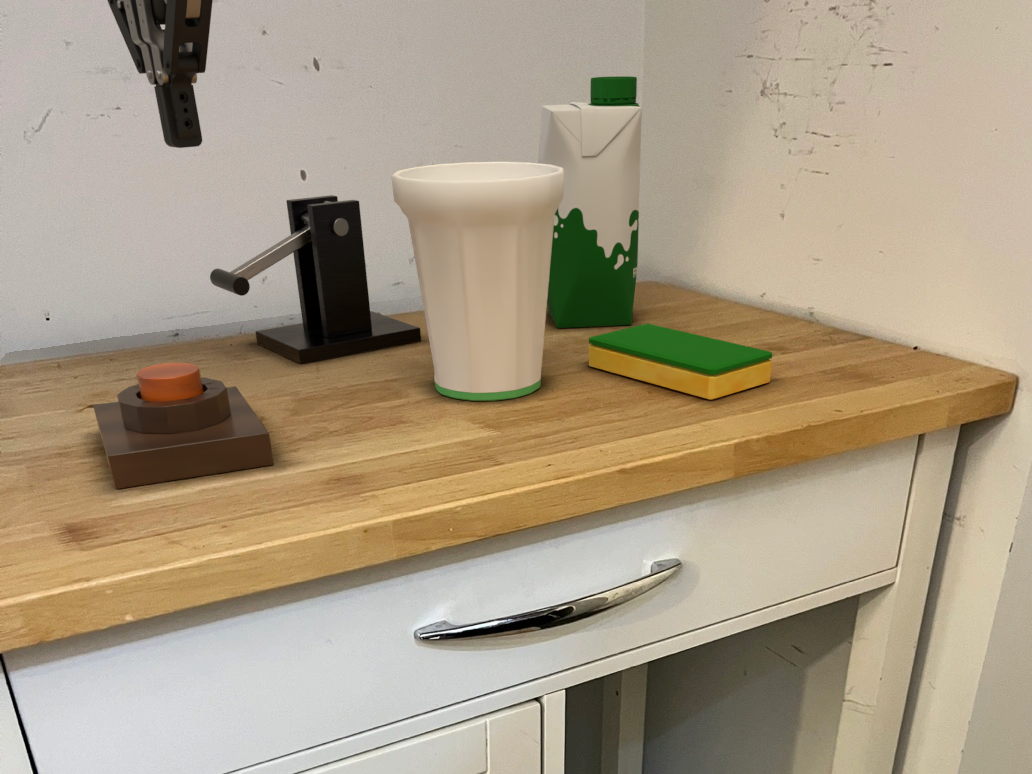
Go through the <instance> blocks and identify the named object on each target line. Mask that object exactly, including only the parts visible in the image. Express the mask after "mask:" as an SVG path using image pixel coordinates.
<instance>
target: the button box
mask: <svg viewBox="0 0 1032 774" xmlns="http://www.w3.org/2000/svg"><path fill="white" fill-rule="evenodd" d="M201 381H202V386H203V392H204V393H202V394H201V395H197V396H194V397H191V398H187V399H181V400H173V401H146V400H142V398H141V393H140V389H139V384H138V383H137V384H133V385H131V386H128V387H127V388H125V389H123V390H122V391H120V392H119V393H117V395H116V397H117V401H111V402H104V403H96V404H93V412H94V414H95V415H94V416H95V419H96V423H97V426H98V431H99V435H100V439H101V443H102V445H103V449H104V453H105V458H106V461H107V463H108V468H109V471H110V474H111V478H112V481H113V484H114V485H113V486H114V488H115V489H116V490H119V489H126V488H132V487H138V486H144V485H152V484H157V483H164V482H172V481H179V480H183V479H190V478H198V477H203V476H211V475H216V474H223V473H229V472H236V471H237V472H238V471H242V470H249V469H255V468H261V467H263V468H264V467H269V466H274V464H275V462H274V455H273V449H272V444H271V443H272V442H271V437H270V432H269V430H268V429H267V428H266V427H265V426H264V424H263V422H262V421H261V420H260V418H259V417H258V415H257V414H256V413H255V411H254V410H253V409H252V407H251V405H250V404H249V403H248V401H247V400H246V398H245V396H243V394H242V392H241V391H240V390H239V388H238V387H237V386H228V387H226V385H225V384H224V382H223V381H221V380H218V379H214V378H209V377H203V376H201Z"/></svg>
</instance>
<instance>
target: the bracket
mask: <svg viewBox="0 0 1032 774" xmlns="http://www.w3.org/2000/svg"><path fill="white" fill-rule="evenodd" d="M325 201H329V203H323V202H325ZM286 209H287V215H288V216H287V217H288V223H289V230H290V235H292V234H293V233H295V232H297V231H298V230H300V229H302V228H303V227H305V225H304V223H303V221H302V218H301V216H302V215H304V214H305V213H307V212H308V215H309V223H310V231H311V240H312V241H311V242H309V243H308V244H306V245H304V246H303V247H301V248H300V249H298V250H296V251H295V252H293V253H292V254H293V260H294V267H295V276H296V283H297V284H296V285H297V290H298V291H297V292H298V298H299V307H300V313H301V321H302V322H300V323H293V324H288V325H282V326H276V327H270V328H264V329H260V330H255V331H254V332H255V338H256V345H258V346H260V347H263V348H264V349H267V350H269V351H271V352H273V353H275V354H277V355H280V356H282V357H284V358H287V359H288V360H291V361H294V362H296V363H297V364H300V365H305V364H309V363H312V362H313V363H314V362H320V361H324V360H330V359H335V358H340V357H346V356H350V355H356V354H361V353H366V352H372V351H377V350H383V349H388V348H393V347H398V346H404V345H409V344H413V343H419V342H422V335H421V334H422V333H421V327H420V326H416V325H413V324H410V323H407V322H405V321H401V320H399V319H396V318H392V317H390V316H387V315H384V314H381V313H379V312H376V311H372V310H371V307H370V306H371V305H370V295H369V285H368V275H367V266H366V257H365V246H364V236H363V227H362V217H361V216H362V215H361V206H360V200H357V199H346V200H338V196H337V195H334V194H331V195H321V196H313V197H303V198H294V199H293V198H292V199H286Z"/></svg>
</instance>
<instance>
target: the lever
mask: <svg viewBox="0 0 1032 774" xmlns="http://www.w3.org/2000/svg"><path fill="white" fill-rule="evenodd" d="M323 203H329V201H325V202H323ZM301 218H302V221H303V223H304V225H305V227H303V228H302V229H300V230H298V231H297V232H295V233H293V234H292V235H291V234H290V235H289V236H287V237H285V238H283V239H282V240H280V241H278V242H277V243H275V244H273V245H272V246H270V247H268V248H267V249H266V250H264V251H262V252H260V253H259V254H257V255H256V256H254V257H252V258H250V259H249V260H247V261H245V262H244V263H242V264H240V265H239V266H237V267H236V268H234V269H232V270H231V271H227V270H224V269H222V268H214V269H213V270H212V271H211V272H210V275H209V280H210V282H211V284H212V285H213V286H215V287H217V288H219V289H222V290H224V291H227V292H230V293H232V294H235V295H238V296H239V297H240V296H241V297H242V296H246V295H247V294H248V293H249V291H250V289H251V285H250V282H249V280H251V279H253V278H254V277H256V276H257V275H259V274H261V273H262V272H264V271H266V270H267V269H269V268H270V267H272V266H274V265H275V264H277V263H279V262H280V261H282V260H283V259H285V258H286V257H288V256H290V255H291V254H293V252H295V251H296V250H298V249H300V248H301V247H303V246H304V245H306V244H308V243H309V242H311V241H312V240H311V231H310V223H309V215H308V212H307V213H305V214H304V215H302V216H301Z"/></svg>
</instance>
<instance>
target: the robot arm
mask: <svg viewBox="0 0 1032 774" xmlns="http://www.w3.org/2000/svg"><path fill="white" fill-rule="evenodd" d="M213 1H214V0H107V3H108V6H109V8H110V10H111V13H112V15H113V18H114V20H115V22H116V24H117V26H118V29H119V31H120V33H121V36H122V38H123V41H124V43H125V45H126V47H127V49H128V52H129V55H130V57H131V59H132V61H133V65H134V66H135V68H136V71H137V73H138V74H140V75H141V74H146V78H147V80H148V83H149V84H150V85H151V86H153V88H154V93H155V100H156V104H157V109H158V114H159V119H160V125H161V131H162V136H163V140H164V143H165V145H167V146H168V147H169V148H177V149H183V148H185V149H186V148H195V147H200V146H201V144H202V143H203V136H202V130H201V129H202V128H201V124H200V117H199V111H198V106H197V101H196V94H195V90H194V84H197V82H198V74H204V73H205V72H206V70H207V69H206V68H207V59H208V51H209V50H208V48H209V41H210V40H209V39H210V30H211V29H210V28H211V19H212V9H213ZM162 26H164V29H163V28H162Z"/></svg>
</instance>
